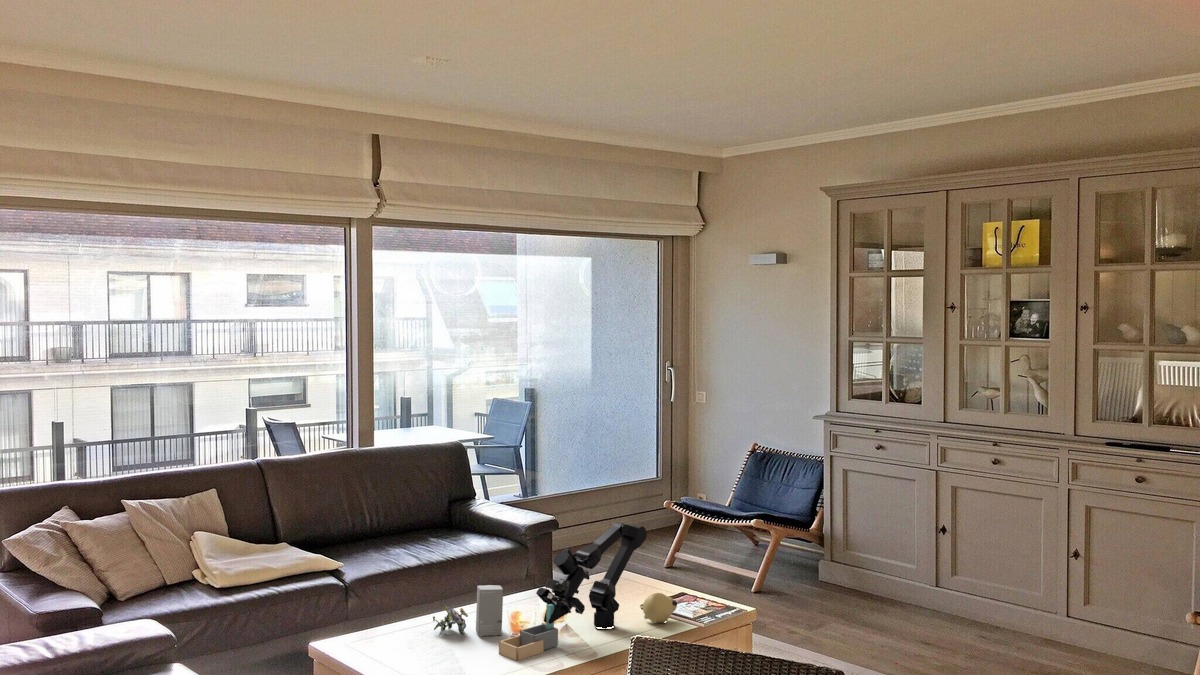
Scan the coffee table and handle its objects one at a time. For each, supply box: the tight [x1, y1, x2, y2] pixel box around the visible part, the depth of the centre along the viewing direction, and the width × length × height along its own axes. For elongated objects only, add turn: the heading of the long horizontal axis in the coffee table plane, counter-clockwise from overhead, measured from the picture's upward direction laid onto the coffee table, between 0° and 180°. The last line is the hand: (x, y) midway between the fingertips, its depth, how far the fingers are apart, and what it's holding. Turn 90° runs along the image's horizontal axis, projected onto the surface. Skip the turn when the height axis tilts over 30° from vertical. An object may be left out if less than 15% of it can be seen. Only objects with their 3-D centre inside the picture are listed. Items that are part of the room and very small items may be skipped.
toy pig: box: [642, 592, 678, 624], centre depth 344 cm, size 10×12×11 cm
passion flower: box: [432, 606, 468, 636], centre depth 329 cm, size 11×11×12 cm
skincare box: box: [475, 584, 504, 638], centre depth 331 cm, size 8×7×16 cm
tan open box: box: [498, 634, 544, 662], centre depth 311 cm, size 11×9×4 cm
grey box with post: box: [519, 604, 559, 651], centre depth 317 cm, size 11×7×13 cm, turn 136°
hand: (546, 622), depth 319 cm, fingers closed on grey box with post, 2 cm apart
